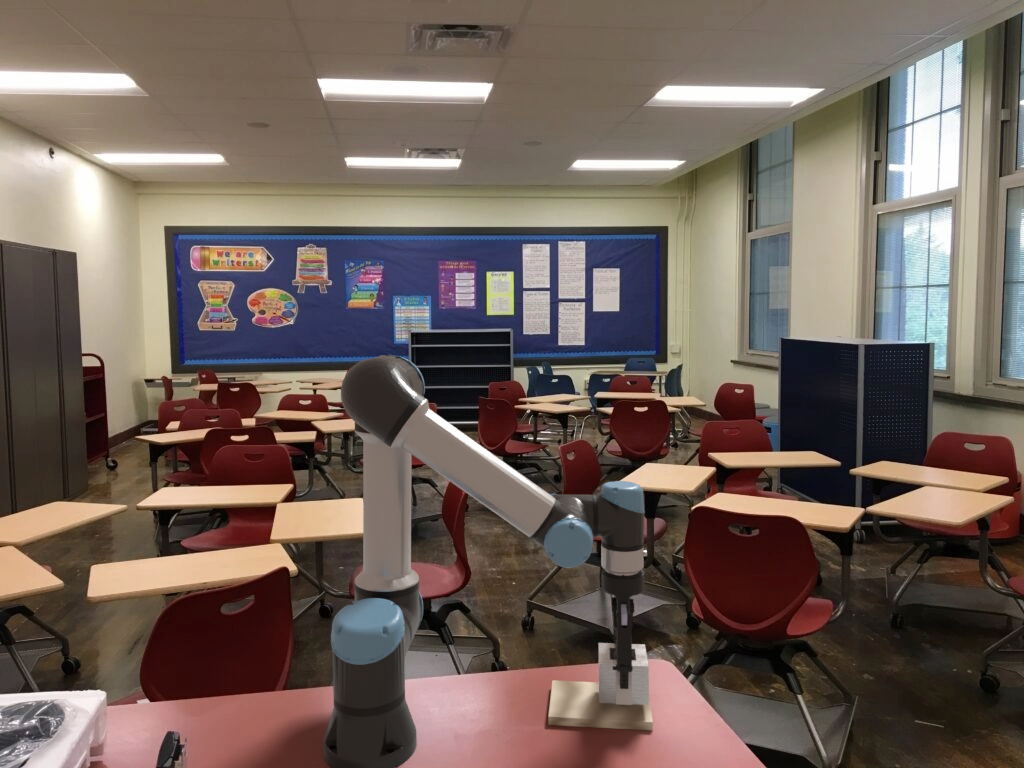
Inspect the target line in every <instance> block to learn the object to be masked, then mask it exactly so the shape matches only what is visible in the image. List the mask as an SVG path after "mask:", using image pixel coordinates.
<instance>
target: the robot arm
mask: <svg viewBox="0 0 1024 768" xmlns="http://www.w3.org/2000/svg"><path fill="white" fill-rule="evenodd" d="M425 392H426V388H425V380H424V376H423V374H422V372H421V371H420V369H419V368H418V367H417V365H416V364H414V363H413V362H412V361H411V360H410V359H407V358H405V357H402V356H399V355H394V354H393V355H392V354H385V355H384V354H382V355H381V354H380V355H379V356H375V357H372V358H371V357H369V358H365V359H362V360H361V361H359V362H357V363H355V364H354V365H353V366H352V367H350V369H349V370H348V371H347V372H346V374H345V376H344V378H343V380H342V382H341V386H340V400H341V403H342V407H343V408H344V410H345V413H346V414H347V415H348V416H349V418H350V419H351V420H352V421H353V422H354V433H355V434H357V436H359V438H361V440H362V442H363V448H362V449H363V459H362V460H363V463H362V464H363V465H362V466H363V469H362V470H363V471H362V473H363V476H362V477H363V478H362V479H363V482H362V485H363V487H362V489H363V492H362V493H363V494H362V495H363V496H362V497H363V498H362V499H363V504H362V505H363V509H362V510H363V513H362V514H363V515H362V517H363V519H362V521H363V522H362V523H363V526H362V527H363V528H362V529H363V531H362V532H363V533H362V535H363V537H362V539H363V541H362V542H363V544H362V545H363V546H362V547H363V550H362V551H363V558H362V560H363V561H362V562H363V568H362V569H363V570H362V571H360V573H358V575H356V576H355V578H354V601H353V603H352V604H346V605H345V606H344V607H342V608H341V609H339V610H338V612H337V613H336V615H335V616H334V618H333V620H332V624H331V631H330V632H331V633H330V646H331V656H332V657H331V659H332V661H331V662H332V687H333V688H332V689H333V707H332V712H331V715H330V718H329V721H328V725H327V728H326V732H325V735H324V738H323V756H324V760H325V762H326V763H327V764H328V766H329V767H331V768H397V767H399V766H401V765H402V764H404V763H405V762H407V761H408V760H409V759H410V758H411V757H412V756H413V754H414V752H415V751H416V749H417V743H418V740H417V738H418V737H417V736H418V735H417V729H416V725H415V722H414V718H413V716H412V714H411V711H410V708H409V705H408V704H407V703H408V702H407V700H406V681H405V680H406V678H405V676H406V673H405V670H406V669H405V663H406V657H407V653H408V651H409V649H410V646H411V645H412V641H413V639H414V638H415V634H416V633H417V631H418V630H419V628H420V625H421V622H422V621H423V616H424V601H423V597H422V594H421V592H420V577H419V574H418V573H417V571H415V570H414V569H412V456H414V457H415V458H417V459H418V460H419V461H420V462H422V463H423V464H425V465H426V466H427V467H429V468H431V469H432V470H433V471H435V472H436V473H438V474H439V475H440V476H442V477H443V478H445V479H446V480H447V481H448V482H450V483H451V484H452V485H454V486H456V487H457V488H458V489H460V490H462V491H463V492H465V494H468V495H469V496H470V497H471V498H473V499H474V500H476V501H477V502H479V503H480V504H481V505H483V507H485V508H487V509H489V510H490V511H491V512H493V513H494V514H496V515H497V516H498V517H500V518H502V519H503V520H504V521H506V522H507V523H509V524H510V525H511V526H513V527H515V529H517V530H518V531H520V532H522V534H524V535H525V536H527V537H528V538H530V539H531V540H532V541H533V542H535V543H536V544H538V545H539V546H541V547H542V548H543V549H544V551H545V553H546V555H547V556H548V557H549V559H550V560H551V562H552V563H554V564H555V565H557V566H559V567H561V568H566V569H572V568H576V567H579V566H581V565H583V564H584V563H585V562H587V560H588V559H589V557H590V556H591V554H592V551H593V546H594V545H593V544H594V538H599V537H600V538H601V545H600V548H601V551H600V552H601V553H600V555H601V556H600V557H601V558H600V559H601V560H600V563H601V567H602V569H601V589H602V591H603V592H604V593H606V594H607V595H611V597H610V598H611V599H610V600H611V602H610V603H611V613H612V617H613V618H612V619H613V621H612V622H613V628H614V629H613V633H614V637H613V640H614V642H615V643H616V644H617V665H616V666H613V670H616V704H619V705H632V670H633V667H632V644H633V636H632V635H633V633H632V630H633V628H634V613H635V603H634V596H638V595H640V594H642V593H643V591H645V590H644V589H645V572H644V570H643V569H644V560H645V559H644V557H647V556H648V551H647V550H644V549H645V548H644V547H645V543H644V542H645V513H646V510H645V502H644V500H645V499H644V489H643V487H641V485H640V484H638V483H636V482H632V481H625V480H615V481H608V482H605V483H603V484H602V485H601V491H599V492H600V493H596V494H560V493H559V494H558V493H552V494H550V493H548V491H546V490H544V489H543V488H541V487H540V486H539V485H537V484H536V483H534V482H533V481H531V480H530V479H529V478H528V477H526V476H525V475H523V474H522V473H520V472H519V471H517V470H516V469H515V468H513V467H512V466H511V465H509V464H508V463H506V462H505V461H503V460H502V459H501V458H499V457H498V456H497V455H496V454H494V453H492V452H491V451H489V450H488V449H487V448H485V447H484V446H482V445H481V444H480V443H478V442H476V441H475V440H474V439H473V438H471V437H470V436H468V435H467V434H466V433H464V432H463V431H461V430H460V429H458V427H456V426H454V425H453V424H452V423H450V422H448V421H447V420H446V419H444V418H443V417H442V416H440V415H439V414H438V413H436V412H435V411H433V410H432V409H431V408H430V403H429V399H427V398H425ZM612 596H613V597H612Z"/></svg>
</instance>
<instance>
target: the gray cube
mask: <svg viewBox="0 0 1024 768" xmlns="http://www.w3.org/2000/svg"><path fill="white" fill-rule="evenodd" d="M616 643H617V642H615V643H614V642H613V643H611V642H609V643H608V642H598V643H597V644H598V682H599V703H616V670H613V666H616V665H617V660H614V652H615V651H616V649H617V644H616ZM647 654H648V653H647V648H646V644H643V643H642V644H641V643H632V667H633V670H632V704H642V705H649V700H650V696H649V695H650V694H649V691H650V690H649V685H650V684H649V680H650V676H649V674H650V673H649V672H650V671H649V670H650V669H649V662H648V661H649V659H648V655H647Z"/></svg>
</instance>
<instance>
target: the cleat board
mask: <svg viewBox="0 0 1024 768" xmlns="http://www.w3.org/2000/svg"><path fill="white" fill-rule="evenodd" d="M614 660H617V649H616V651H615V652H614ZM550 689H551V691H550V700H549V707H548V708H549V709H548V717H547V718H548V719H547V720H548V723H547V724H548V726H562V727H580V728H599V729H614V730H615V729H617V730H620V729H621V730H635V731H637V730H639V731H653V729H654V727H653V726H654V722H653V715H652V714H653V713H652V708H651V701H650V699H649V705H642V704H632V705H619V704H616V703H599V681H597V682H595V681H573V680H556V679H554V680H553V679H552V681H551V688H550Z"/></svg>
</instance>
